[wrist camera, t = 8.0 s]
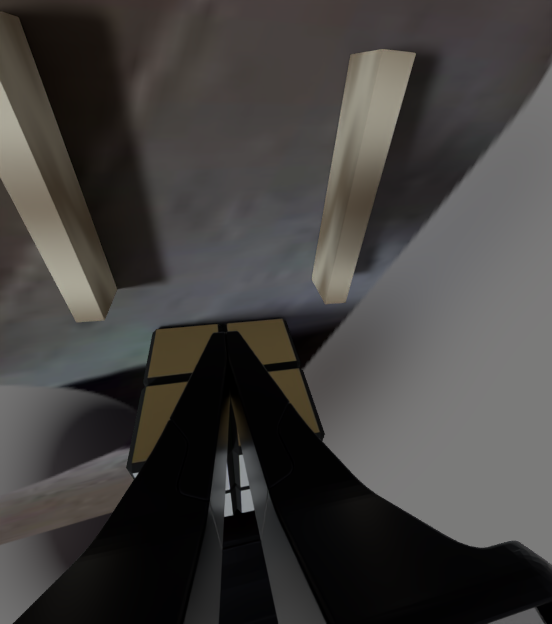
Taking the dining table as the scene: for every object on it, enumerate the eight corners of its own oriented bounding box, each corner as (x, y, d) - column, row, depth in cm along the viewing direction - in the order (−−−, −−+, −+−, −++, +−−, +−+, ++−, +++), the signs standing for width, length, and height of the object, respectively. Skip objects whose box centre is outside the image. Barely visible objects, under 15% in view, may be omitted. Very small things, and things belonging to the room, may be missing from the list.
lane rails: (329, 278, 20) (345, 302, 18) (93, 290, 17) (76, 322, 15) (378, 57, 13) (415, 53, 11) (-28, 12, 10) (-97, -8, 7)
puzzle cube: (277, 389, 28) (304, 500, 21) (175, 403, 26) (164, 531, 19) (285, 315, 22) (328, 436, 15) (152, 326, 20) (121, 472, 13)
